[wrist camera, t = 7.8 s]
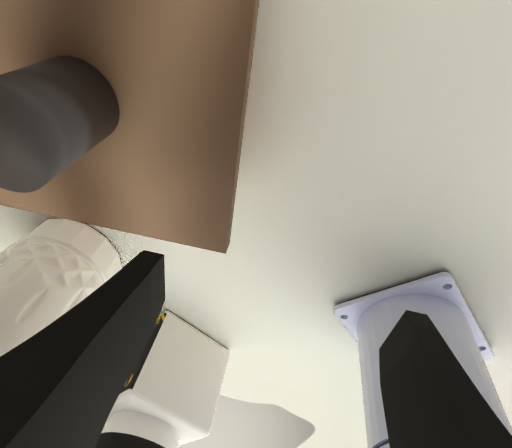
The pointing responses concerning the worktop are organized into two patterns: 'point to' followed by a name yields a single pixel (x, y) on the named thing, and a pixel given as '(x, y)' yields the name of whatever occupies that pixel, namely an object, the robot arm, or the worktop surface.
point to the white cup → (50, 276)
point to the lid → (126, 112)
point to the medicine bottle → (168, 390)
